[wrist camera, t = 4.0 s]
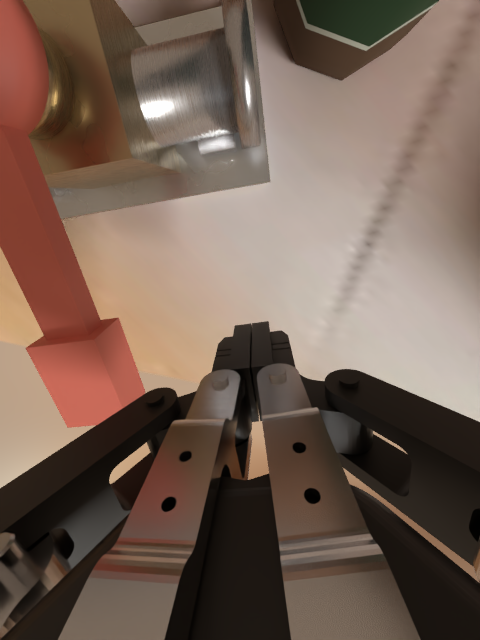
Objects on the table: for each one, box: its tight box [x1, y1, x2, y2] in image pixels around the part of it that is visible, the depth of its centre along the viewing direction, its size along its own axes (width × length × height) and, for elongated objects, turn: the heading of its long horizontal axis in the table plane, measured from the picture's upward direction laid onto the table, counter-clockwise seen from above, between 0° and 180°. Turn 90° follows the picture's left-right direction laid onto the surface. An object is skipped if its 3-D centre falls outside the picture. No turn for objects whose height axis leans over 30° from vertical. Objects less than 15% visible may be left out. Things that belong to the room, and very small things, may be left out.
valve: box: [23, 0, 270, 219], centre depth 14 cm, size 9×18×11 cm, turn 99°
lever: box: [0, 0, 145, 427], centre depth 10 cm, size 15×5×2 cm, turn 9°
